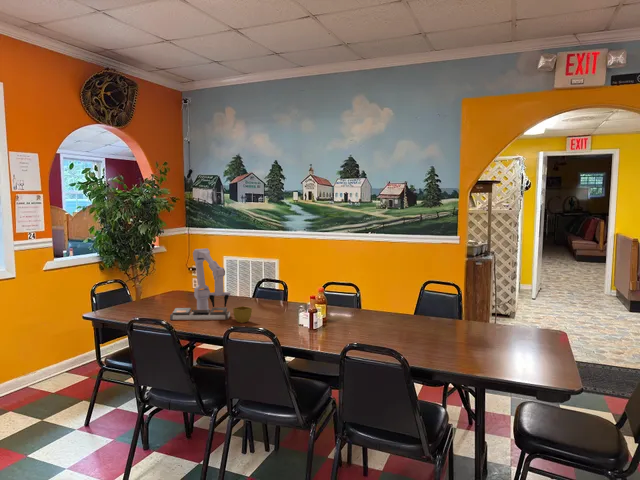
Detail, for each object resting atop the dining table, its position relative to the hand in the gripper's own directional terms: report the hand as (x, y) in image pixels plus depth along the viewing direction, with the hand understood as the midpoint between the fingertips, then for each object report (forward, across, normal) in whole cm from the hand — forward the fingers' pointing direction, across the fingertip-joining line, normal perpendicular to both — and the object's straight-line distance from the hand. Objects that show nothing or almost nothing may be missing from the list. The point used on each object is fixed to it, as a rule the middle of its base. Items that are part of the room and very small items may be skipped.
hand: (219, 306), depth 297 cm
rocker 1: (+3, -12, -2) cm, 13 cm away
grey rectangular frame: (+3, -24, -2) cm, 24 cm away
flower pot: (+7, +17, -13) cm, 23 cm away
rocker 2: (+3, 0, -2) cm, 4 cm away
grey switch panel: (+7, -12, -2) cm, 14 cm away
